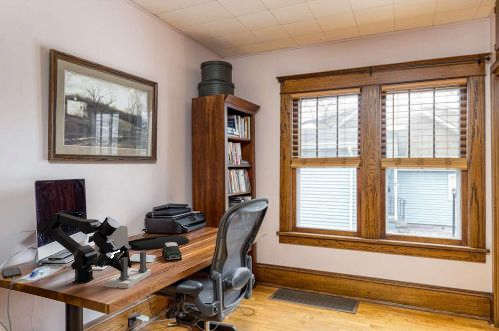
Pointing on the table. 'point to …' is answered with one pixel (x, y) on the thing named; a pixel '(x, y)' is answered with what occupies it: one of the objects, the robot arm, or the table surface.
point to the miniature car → (171, 251)
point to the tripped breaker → (124, 264)
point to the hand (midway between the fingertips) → (126, 269)
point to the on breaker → (143, 262)
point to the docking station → (156, 242)
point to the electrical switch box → (117, 238)
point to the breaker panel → (133, 279)
